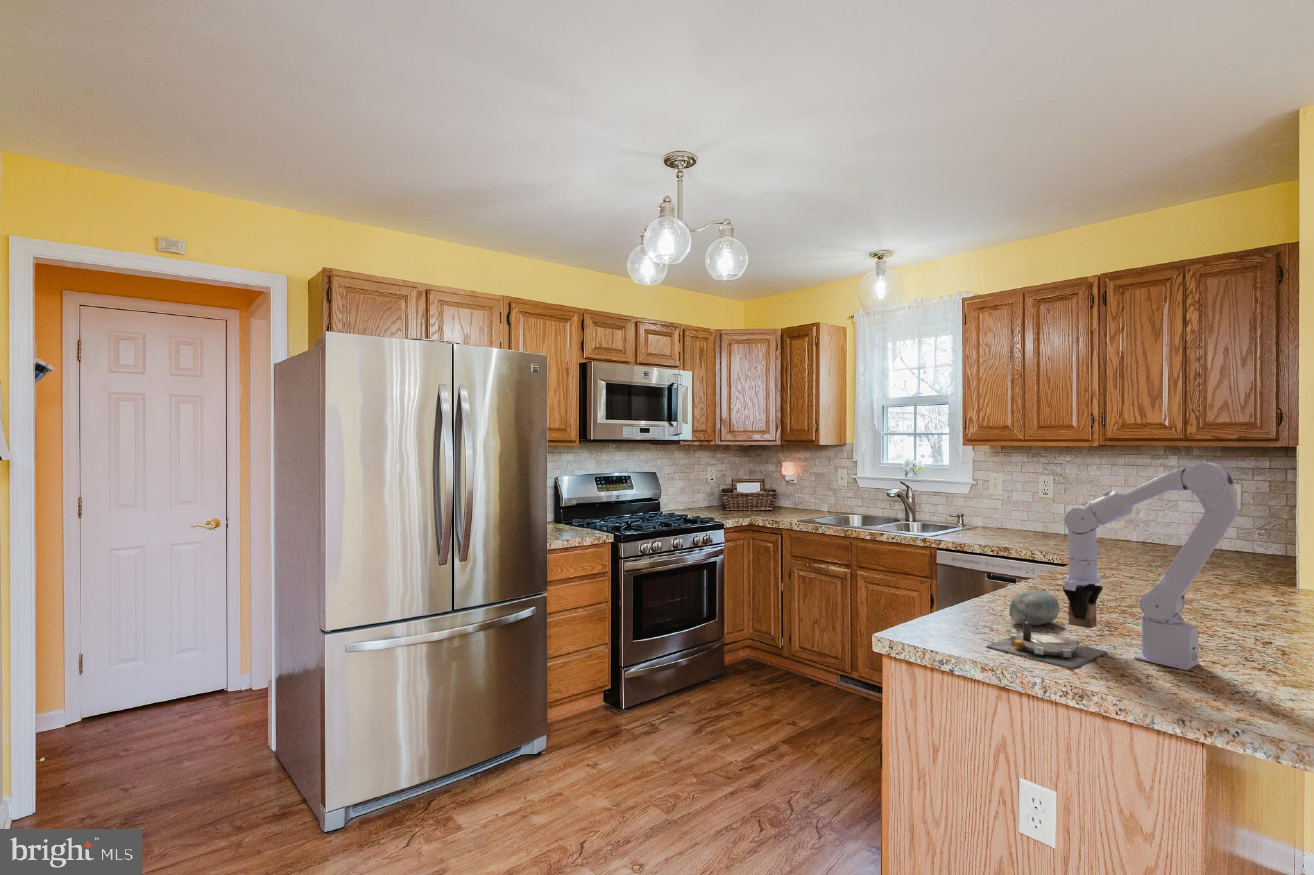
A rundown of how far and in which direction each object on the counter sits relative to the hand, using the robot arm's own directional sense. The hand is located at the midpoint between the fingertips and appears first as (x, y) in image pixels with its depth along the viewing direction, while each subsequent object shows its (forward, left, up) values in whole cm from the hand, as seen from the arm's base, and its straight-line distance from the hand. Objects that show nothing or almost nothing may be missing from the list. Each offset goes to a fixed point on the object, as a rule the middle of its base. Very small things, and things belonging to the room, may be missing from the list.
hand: (1083, 617), depth 154 cm
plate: (+3, +12, -6) cm, 13 cm away
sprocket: (+3, +12, -6) cm, 13 cm away
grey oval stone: (+15, -9, -7) cm, 19 cm away
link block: (0, 0, -2) cm, 2 cm away
